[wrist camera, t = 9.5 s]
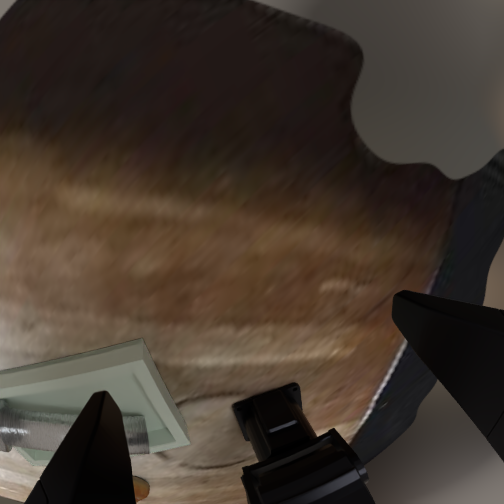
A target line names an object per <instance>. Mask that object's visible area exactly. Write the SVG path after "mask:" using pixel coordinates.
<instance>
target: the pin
mask: <svg viewBox="0 0 504 504" xmlns="http://www.w3.org/2000/svg"><path fill="white" fill-rule="evenodd" d="M77 417H78V415H72V414H59V413H48V412H38V411H30V410H22V409H15V408H10V407H9V405H8V403H7V402H6V401H5V400H3V399H0V451H4V452H10V451H11V449H12V446H15V447H21V448H28V449H35V450H43V451H52V452H56V450H57V448H58V447H59V445H60V444H61V442H62V440H63V439H64V437H65V436H66V434H67V433H68V431H69V429H70V428H71V426H72V425H73V423H74V422H75V420H76V418H77ZM122 417H123V423H124V429H125V434H126V439H127V444H128V449H129V454H130V455H139V454H150V449H149V440H148V433H147V427H146V421H145V417H144V416H122Z"/></svg>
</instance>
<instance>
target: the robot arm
mask: <svg viewBox="0 0 504 504" xmlns="http://www.w3.org/2000/svg"><path fill="white" fill-rule="evenodd" d="M392 319H393V321H394V323H395V324H396V326H397V327H398V329H399V330H400V331H401V333H402V334H403V336H404V337H405V338H406V340H407V341H408V343H409V344H410V346H411V347H412V348H413V350H414V351H415V353H416V354H417V355H418V356H419V358H420V359H421V360H422V361H423V362H424V363H425V365H426V366H427V367H428V368H429V369H430V370H431V372H432V373H433V374H434V375H435V376H436V377H437V379H438V380H439V381H440V382H441V383H442V385H444V387H445V388H446V389H447V390H448V392H449V393H450V394H451V395H452V397H453V398H454V399H455V400H456V401H457V403H458V404H459V405H460V406H461V408H462V409H463V410H464V411H465V412H466V414H467V415H468V416H469V417H470V419H471V420H472V421H473V422H474V424H475V425H476V426H477V428H478V429H479V430H480V431H481V433H482V434H483V435H484V436H485V437H486V439H487V441H488V442H489V443H490V444H491V446H492V447H493V448H494V450H495V451H496V452H497V453H498V455H499V456H500V458H501V459H502V460H503V462H504V310H501V309H500V310H499V309H496V308H491V307H486V306H481V305H476V304H471V303H466V302H462V301H457V300H452V299H447V298H442V297H437V296H432V295H427V294H423V293H418V292H413V291H408V290H403V291H400V292H398V293H396V294H395V295H394V297H393V304H392ZM233 409H234V412H235V415H236V417H237V420H238V423H239V425H240V428H241V430H242V433H243V436H244V438H245V440H246V441H250V442H251V444H252V447H253V449H254V452H255V454H256V457H257V459H258V461H259V462H258V463H255V464H253V465H250V466H248V465H247V466H245V467H242V470H243V473H244V475H242V477H241V480H242V482H243V485H244V488H245V491H246V496H247V502H248V504H375V502H374V500H373V497H372V496H371V494H370V492H369V490H368V488H367V487H366V485H365V484H366V483H367V482H369V478H368V474H367V472H366V470H365V467H364V465H363V464H362V462H361V460H360V459H359V457H358V456H357V454H356V453H355V452H354V451H353V450H352V448H351V447H350V446H349V445H348V444H347V443H346V441H345V440H344V439H343V438H342V437H341V435H340V434H339V433H338V432H337V431H336V429H335V428H332V429H330V430H328V432H326V433H324V434H322V435H320V436H318V437H317V435H316V433H315V432H314V430H313V428H312V427H311V425H310V423H309V422H308V420H307V418H306V417H305V415H304V413H303V411H302V401H301V392H300V386H299V385H298V383H293V384H290V385H287V386H285V387H282V388H279V389H277V390H274V391H271V392H268V393H265V394H262V395H260V396H257V397H254V398H251V399H248V400H245V401H242V402H238V403H236V404H234V405H233ZM24 504H136V499H135V491H134V484H133V475H132V466H131V459H130V454H129V449H128V444H127V439H126V434H125V429H124V423H123V417H122V413H121V410H120V408H119V407H118V405H117V404H116V402H115V401H114V399H113V398H112V396H111V395H110V393H109V392H108V391H106V390H103V391H98V392H94V393H93V394H92V396H91V397H90V399H89V400H88V402H87V403H86V405H85V406H84V408H83V409H82V411H81V412H80V414H79V415H78V417H77V418H76V420H75V422H74V423H73V425H72V426H71V428H70V429H69V431H68V433H67V434H66V436H65V437H64V439H63V440H62V442H61V444H60V445H59V447H58V448H57V450H56V452H55V453H54V455H53V457H52V458H51V460H50V461H49V463H48V465H47V466H46V468H45V470H44V471H43V473H42V475H41V476H40V480H38V481H37V483H36V485H35V486H34V488H33V490H32V491H31V493H30V495H29V496H28V498H27V500H26V501H25V503H24Z"/></svg>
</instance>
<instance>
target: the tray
mask: <svg viewBox="0 0 504 504" xmlns="http://www.w3.org/2000/svg"><path fill="white" fill-rule="evenodd" d="M103 390H106V391H108V392H109V393H110V395H111V396H112V398H113V399H114V401H115V402H116V404H117V405H118V407H119V408H120V410H121V413H122V416H144V417H145V421H146V427H147V433H148V440H149V449H150V453H155V452H159V451H164V450H169V449H173V448H178V447H182V446H186V445H190V444H191V443H190V438H189V434H188V429H187V425H186V423H185V421H184V419H183V417H182V416H181V414H180V412H179V410H178V408H177V407H176V405H175V403H174V401H173V399H172V397H171V395H170V393H169V392H168V390H167V388H166V386H165V384H164V382H163V380H162V378H161V376H160V374H159V372H158V370H157V368H156V366H155V364H154V362H153V360H152V357H151V355H150V353H149V351H148V349H147V347H146V345H145V342H144V340H143V338H140V339H137V340H133V341H129V342H125V343H121V344H117V345H113V346H110V347H106V348H102V349H97V350H93V351H89V352H85V353H81V354H77V355H72V356H68V357H64V358H59V359H55V360H50V361H46V362H41V363H37V364H32V365H27V366H22V367H17V368H12V369H7V370H2V371H0V399H3V400H5V401H6V402H7V403H8V405H9V407H10V408H15V409H22V410H30V411H38V412H48V413H59V414H72V415H79V414H80V412H81V411H82V409H83V408H84V406H85V405H86V403H87V402H88V400H89V399H90V397H91V396H92V394H93V393H94V392H98V391H103ZM13 447H14V448H15V449H16V450H17V451H18V452H19V453H20V454H21V455H22V456H23V457H24V458H25V459H26V460H27V461H28V462H30V463H31V464H32V465H33V466H47V465H48V463H49V461H50V460H51V458H52V457H53V455H54V453H55V452H52V451H43V450H35V449H28V448H21V447H15V446H13ZM139 455H144V454H139ZM139 455H130V457H133V456H139Z"/></svg>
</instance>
